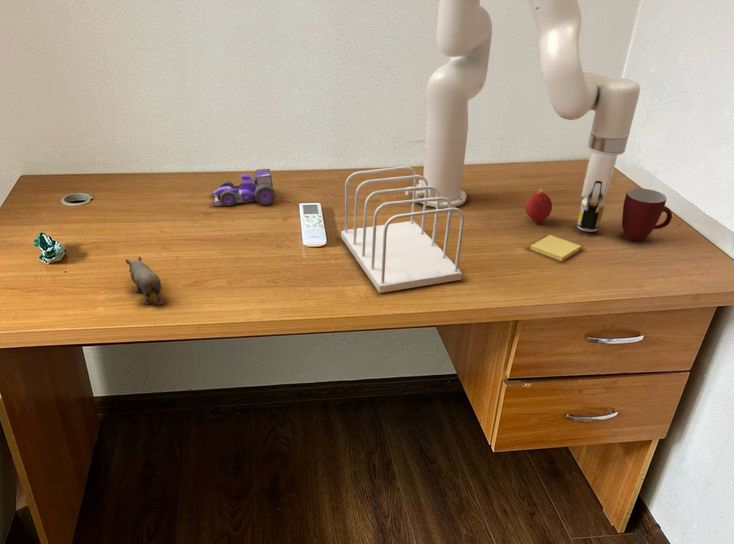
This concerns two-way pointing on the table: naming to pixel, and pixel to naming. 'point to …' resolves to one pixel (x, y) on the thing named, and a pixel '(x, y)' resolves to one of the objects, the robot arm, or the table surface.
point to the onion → (539, 206)
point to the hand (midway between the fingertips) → (588, 222)
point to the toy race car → (247, 190)
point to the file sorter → (401, 240)
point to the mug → (643, 213)
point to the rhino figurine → (145, 280)
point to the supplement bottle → (583, 211)
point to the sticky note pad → (555, 247)
